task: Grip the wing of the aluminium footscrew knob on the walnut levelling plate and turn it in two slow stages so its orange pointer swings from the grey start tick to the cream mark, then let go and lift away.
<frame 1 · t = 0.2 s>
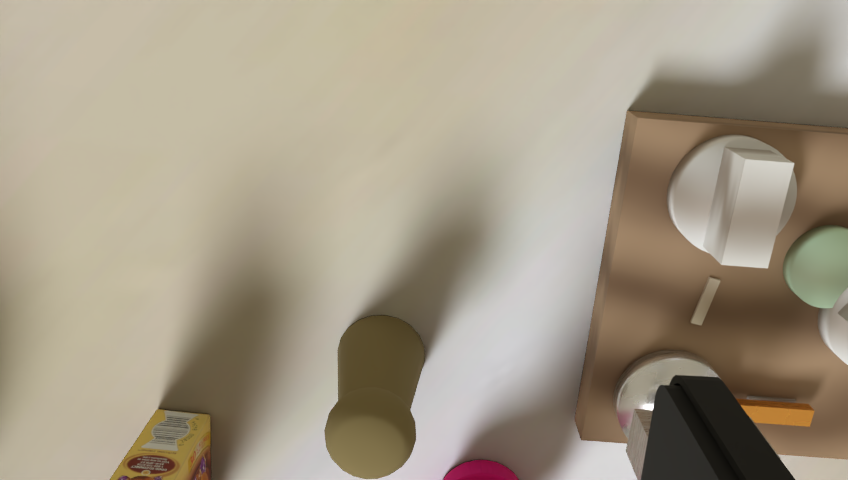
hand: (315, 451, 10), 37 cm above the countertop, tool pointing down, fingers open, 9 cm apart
knob: (731, 436, 44), point 7 cm above the countertop, hinge at 0.0°
candy box: (183, 459, 54), on the countertop
cork: (381, 353, 51), on the countertop
levelling plate: (748, 288, 49), on the countertop
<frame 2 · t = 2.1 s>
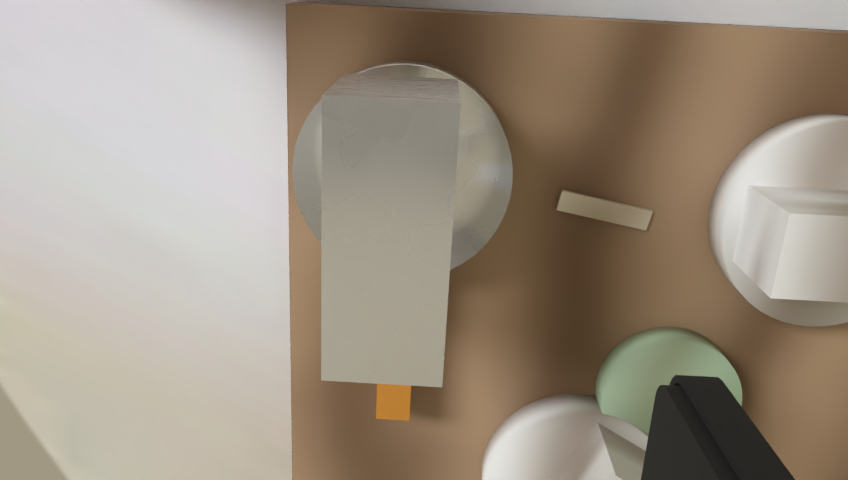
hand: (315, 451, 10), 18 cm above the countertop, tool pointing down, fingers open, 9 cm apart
knob: (393, 290, 22), point 7 cm above the countertop, hinge at 0.0°
levelling plate: (580, 282, 29), on the countertop
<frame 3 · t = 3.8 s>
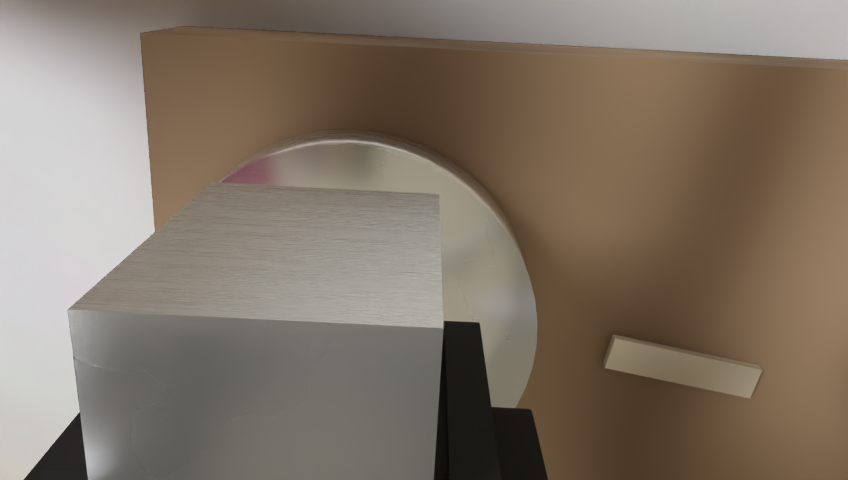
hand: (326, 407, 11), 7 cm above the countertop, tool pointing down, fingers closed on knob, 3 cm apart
levelling plate: (629, 447, 19), on the countertop
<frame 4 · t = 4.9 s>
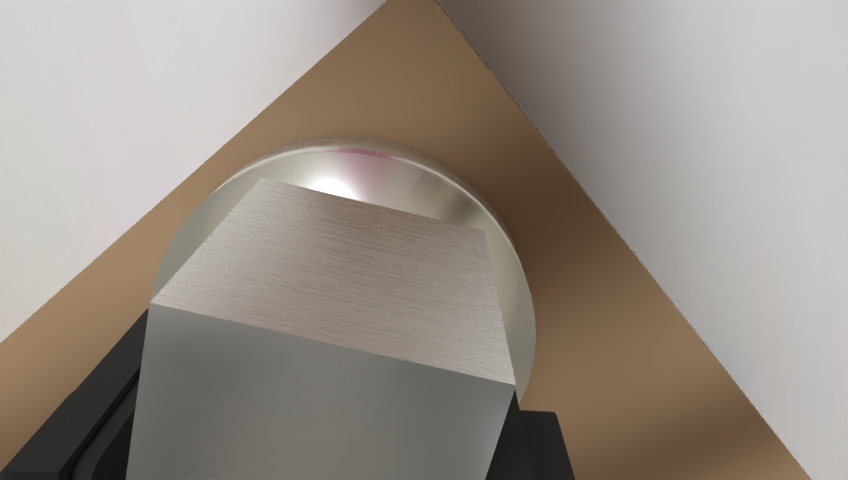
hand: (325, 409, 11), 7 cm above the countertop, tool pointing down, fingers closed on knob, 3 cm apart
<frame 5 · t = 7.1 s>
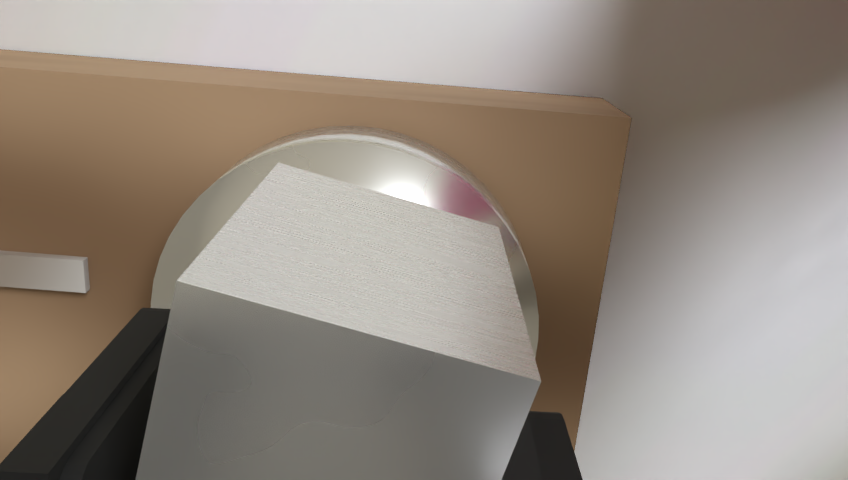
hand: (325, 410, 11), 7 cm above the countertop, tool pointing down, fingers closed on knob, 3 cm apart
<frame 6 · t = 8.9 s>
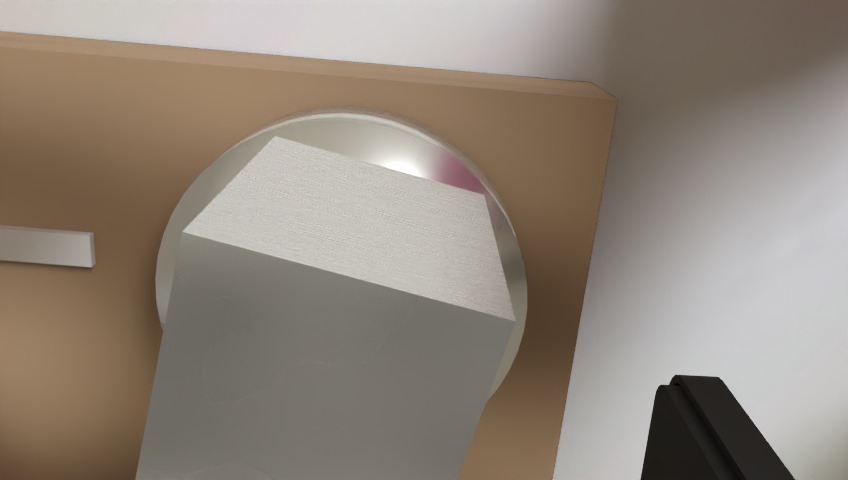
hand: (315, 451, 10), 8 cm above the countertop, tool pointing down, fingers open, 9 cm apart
levelling plate: (165, 455, 20), on the countertop
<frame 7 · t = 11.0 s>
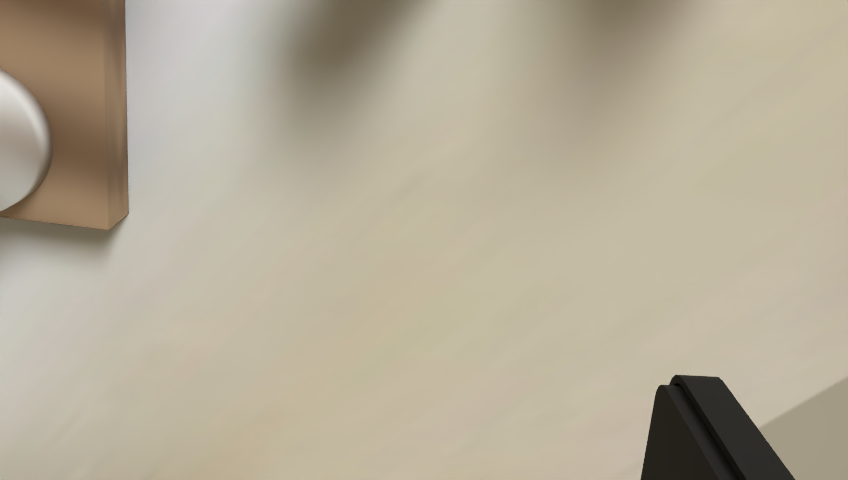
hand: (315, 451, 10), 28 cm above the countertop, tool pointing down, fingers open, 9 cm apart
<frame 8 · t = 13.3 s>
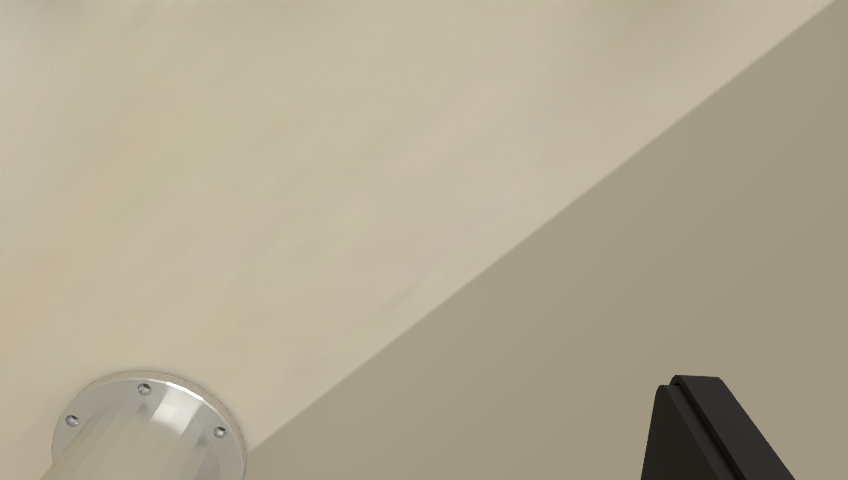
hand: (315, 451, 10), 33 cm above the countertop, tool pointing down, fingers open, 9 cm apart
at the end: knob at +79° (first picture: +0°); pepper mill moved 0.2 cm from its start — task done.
